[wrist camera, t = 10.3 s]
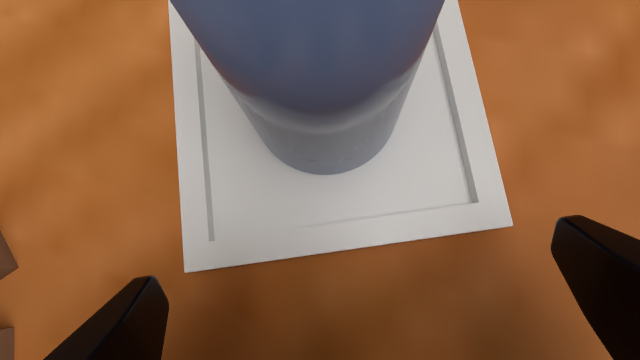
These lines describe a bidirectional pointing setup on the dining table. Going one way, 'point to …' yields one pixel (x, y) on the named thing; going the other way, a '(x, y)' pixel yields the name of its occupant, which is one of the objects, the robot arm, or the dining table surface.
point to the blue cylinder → (316, 70)
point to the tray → (339, 189)
